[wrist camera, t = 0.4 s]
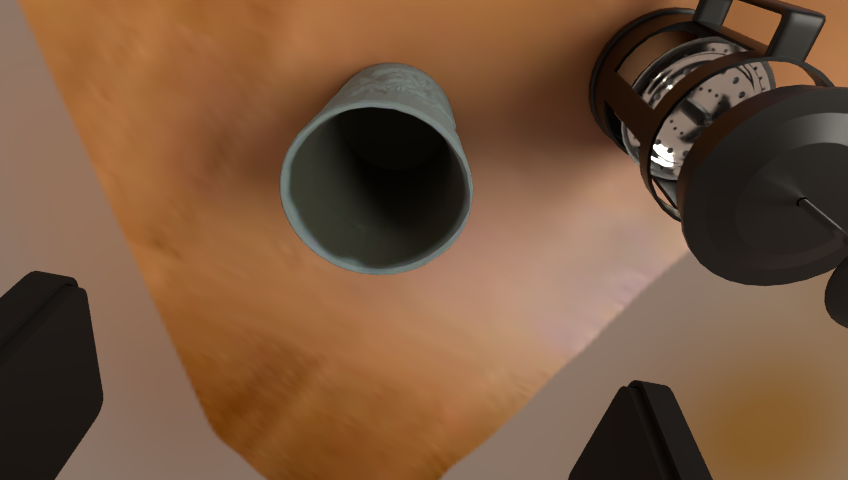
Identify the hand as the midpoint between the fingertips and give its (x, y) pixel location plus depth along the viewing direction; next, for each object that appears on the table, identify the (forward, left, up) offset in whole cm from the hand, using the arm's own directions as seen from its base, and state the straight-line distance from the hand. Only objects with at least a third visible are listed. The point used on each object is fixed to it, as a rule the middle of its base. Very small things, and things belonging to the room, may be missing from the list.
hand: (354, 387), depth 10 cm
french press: (-3, +16, -30) cm, 35 cm away
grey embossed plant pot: (+6, 0, -31) cm, 31 cm away
